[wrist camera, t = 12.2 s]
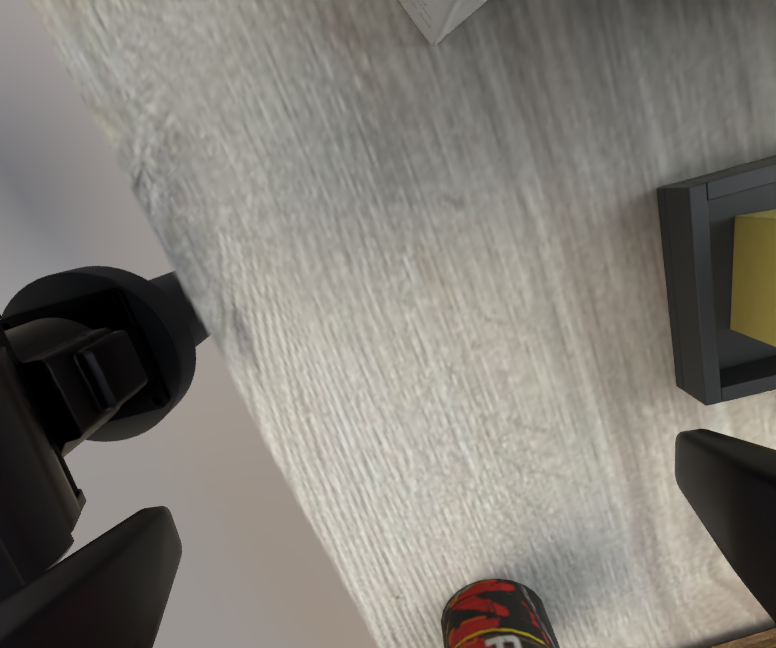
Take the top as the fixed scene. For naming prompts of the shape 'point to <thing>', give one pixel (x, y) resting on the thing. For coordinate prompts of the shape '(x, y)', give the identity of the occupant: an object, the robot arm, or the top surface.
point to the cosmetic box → (439, 15)
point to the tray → (713, 281)
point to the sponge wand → (754, 276)
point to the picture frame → (753, 641)
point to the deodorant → (496, 617)
